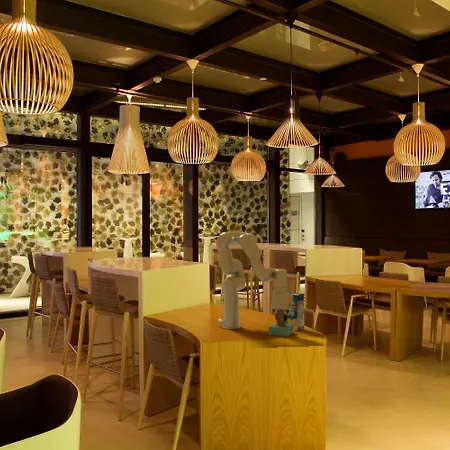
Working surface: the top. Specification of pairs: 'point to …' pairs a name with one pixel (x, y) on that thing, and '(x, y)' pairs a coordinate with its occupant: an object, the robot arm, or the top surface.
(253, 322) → the top surface
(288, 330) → the green square frame
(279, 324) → the long wooden beam
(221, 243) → the robot arm
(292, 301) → the beverage box
